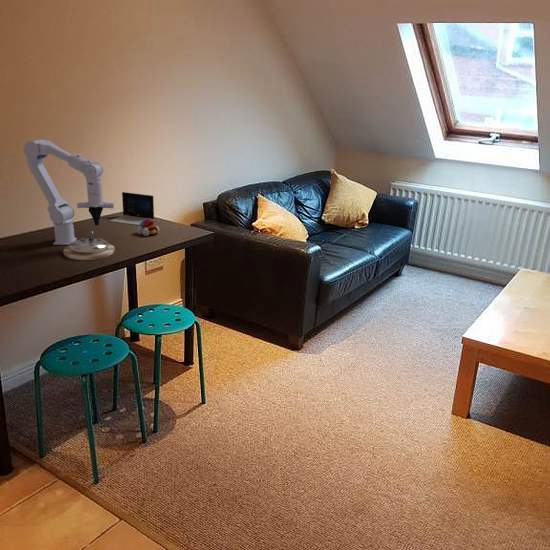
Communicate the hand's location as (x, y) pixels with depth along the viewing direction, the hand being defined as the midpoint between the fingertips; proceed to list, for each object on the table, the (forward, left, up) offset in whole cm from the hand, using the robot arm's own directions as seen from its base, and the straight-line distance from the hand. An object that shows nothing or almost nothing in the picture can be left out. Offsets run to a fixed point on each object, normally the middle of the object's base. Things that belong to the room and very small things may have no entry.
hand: (97, 224), depth 231 cm
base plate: (+9, -2, -9) cm, 13 cm away
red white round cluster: (-19, +19, -10) cm, 29 cm away
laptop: (-43, +9, -10) cm, 45 cm away
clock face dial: (+9, -2, -8) cm, 12 cm away
